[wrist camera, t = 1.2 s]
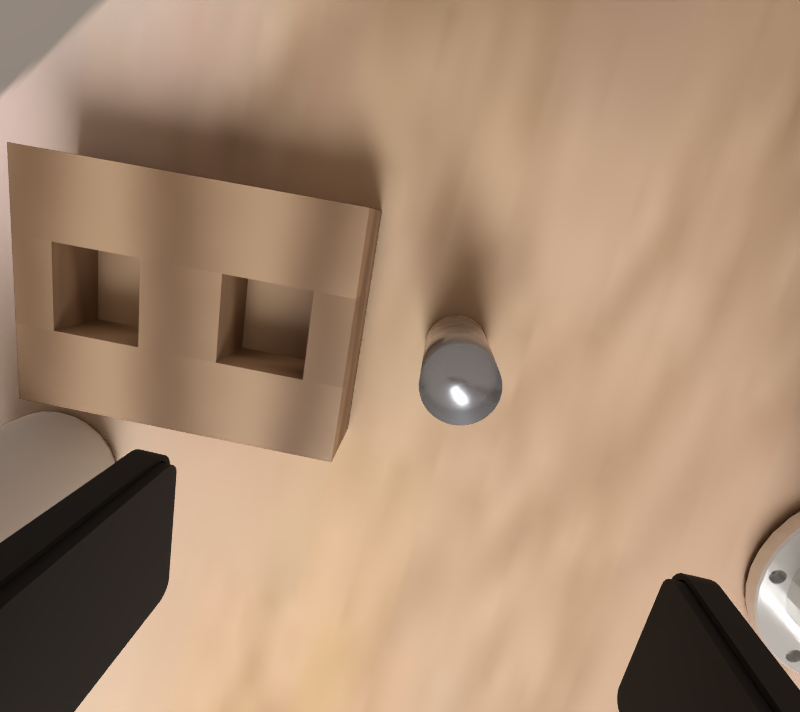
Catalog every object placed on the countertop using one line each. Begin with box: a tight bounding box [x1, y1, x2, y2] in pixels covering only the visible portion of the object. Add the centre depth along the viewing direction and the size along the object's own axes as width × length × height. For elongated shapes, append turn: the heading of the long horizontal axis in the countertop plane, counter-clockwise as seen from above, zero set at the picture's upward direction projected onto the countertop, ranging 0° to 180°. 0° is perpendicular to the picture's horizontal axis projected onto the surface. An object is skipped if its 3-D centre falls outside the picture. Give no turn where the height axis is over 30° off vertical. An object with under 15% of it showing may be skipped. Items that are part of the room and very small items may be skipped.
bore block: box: [7, 142, 382, 462], centre depth 24 cm, size 16×12×4 cm
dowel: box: [419, 315, 502, 425], centre depth 22 cm, size 3×3×7 cm
